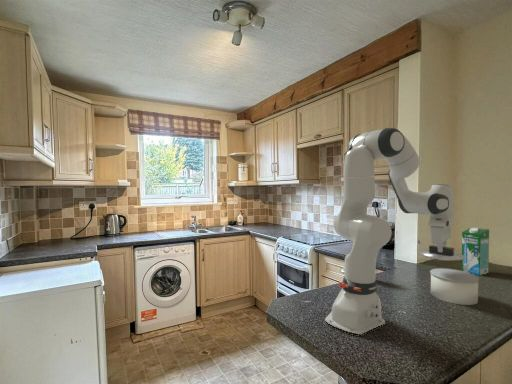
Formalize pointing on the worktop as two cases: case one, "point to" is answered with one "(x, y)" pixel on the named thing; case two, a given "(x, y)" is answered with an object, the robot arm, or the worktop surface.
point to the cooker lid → (442, 254)
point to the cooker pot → (454, 286)
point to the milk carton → (475, 251)
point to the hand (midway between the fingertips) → (441, 251)
